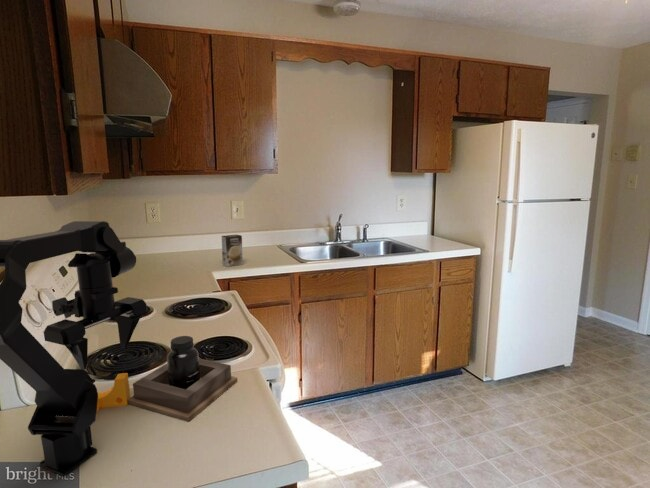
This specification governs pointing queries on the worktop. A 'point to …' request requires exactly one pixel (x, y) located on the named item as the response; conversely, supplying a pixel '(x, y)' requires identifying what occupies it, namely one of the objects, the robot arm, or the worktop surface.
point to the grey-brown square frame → (182, 391)
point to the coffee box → (232, 250)
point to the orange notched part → (115, 393)
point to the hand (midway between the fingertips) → (104, 358)
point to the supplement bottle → (183, 363)
